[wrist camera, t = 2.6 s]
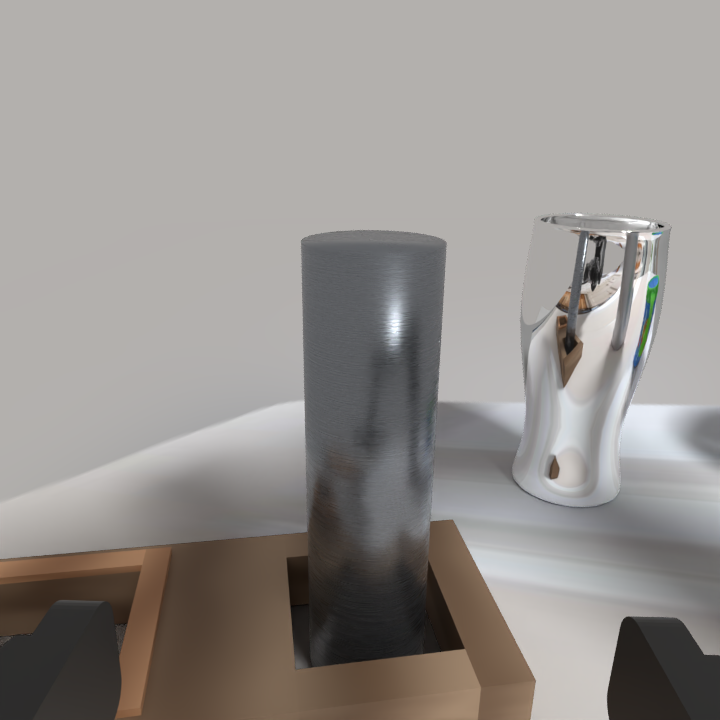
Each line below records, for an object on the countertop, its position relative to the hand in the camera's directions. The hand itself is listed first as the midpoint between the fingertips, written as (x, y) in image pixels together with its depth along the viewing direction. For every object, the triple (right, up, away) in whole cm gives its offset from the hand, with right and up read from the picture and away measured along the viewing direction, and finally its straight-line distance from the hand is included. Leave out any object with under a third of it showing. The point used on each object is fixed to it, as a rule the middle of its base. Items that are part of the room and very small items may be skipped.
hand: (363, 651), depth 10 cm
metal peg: (0, -7, +15) cm, 16 cm away
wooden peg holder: (-6, -7, +14) cm, 16 cm away
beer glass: (+12, -3, +27) cm, 30 cm away
